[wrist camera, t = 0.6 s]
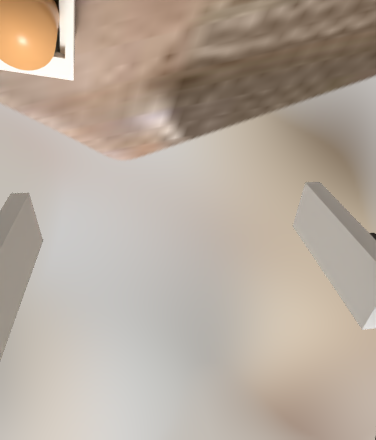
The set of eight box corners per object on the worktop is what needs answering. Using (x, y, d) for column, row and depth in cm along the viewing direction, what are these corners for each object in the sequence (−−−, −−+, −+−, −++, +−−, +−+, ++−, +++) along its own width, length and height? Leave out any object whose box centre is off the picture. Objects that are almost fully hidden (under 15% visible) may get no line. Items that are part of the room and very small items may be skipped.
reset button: (-9, -31, 20) (-26, -11, 17) (58, -15, 22) (54, 6, 19) (1, 36, 23) (-13, 64, 20) (59, 47, 25) (56, 75, 21)
